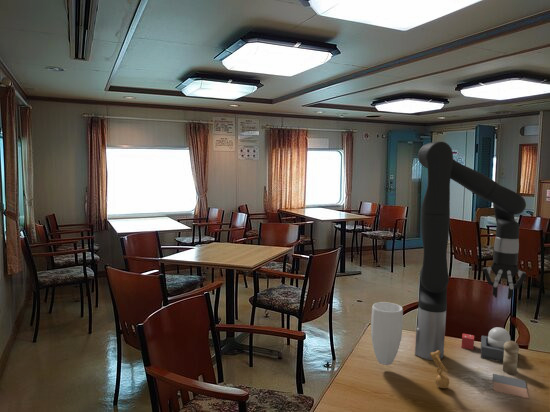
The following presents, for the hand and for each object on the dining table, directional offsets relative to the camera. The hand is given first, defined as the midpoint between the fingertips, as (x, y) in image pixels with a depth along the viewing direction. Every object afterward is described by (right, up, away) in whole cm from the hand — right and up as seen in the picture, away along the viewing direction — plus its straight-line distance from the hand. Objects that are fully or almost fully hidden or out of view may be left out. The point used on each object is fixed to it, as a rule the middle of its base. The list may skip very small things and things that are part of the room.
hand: (502, 297), depth 147 cm
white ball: (0, -18, +2) cm, 18 cm away
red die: (-8, -20, +8) cm, 24 cm away
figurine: (-31, -23, -21) cm, 44 cm away
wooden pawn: (-3, -22, -10) cm, 25 cm away
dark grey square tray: (0, -21, +2) cm, 21 cm away
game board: (-8, -23, -19) cm, 31 cm away
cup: (-45, -22, -10) cm, 51 cm away
